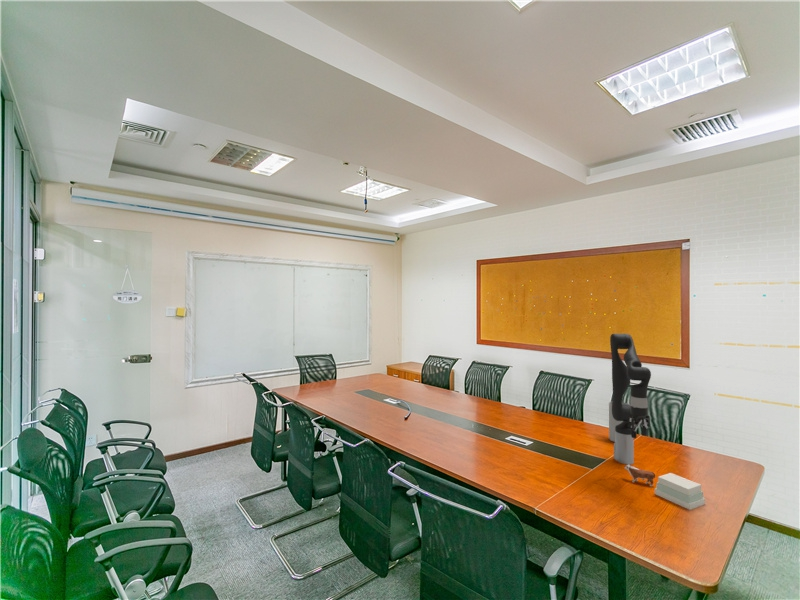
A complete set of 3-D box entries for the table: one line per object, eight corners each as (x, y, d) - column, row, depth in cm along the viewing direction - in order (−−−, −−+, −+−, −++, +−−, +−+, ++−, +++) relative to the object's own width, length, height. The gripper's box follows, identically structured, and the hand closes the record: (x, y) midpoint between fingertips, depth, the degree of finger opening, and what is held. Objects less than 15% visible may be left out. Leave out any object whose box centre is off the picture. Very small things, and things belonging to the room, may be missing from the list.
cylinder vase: (632, 440, 245) (632, 403, 245) (628, 446, 236) (628, 407, 236) (611, 436, 253) (611, 400, 254) (607, 441, 244) (606, 404, 244)
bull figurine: (624, 477, 193) (624, 462, 193) (655, 485, 185) (655, 469, 185) (623, 480, 190) (623, 465, 190) (654, 488, 181) (654, 472, 181)
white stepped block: (654, 494, 176) (654, 476, 176) (669, 489, 181) (669, 471, 181) (690, 510, 162) (689, 490, 162) (705, 504, 167) (704, 485, 167)
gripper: (640, 402, 194) (640, 432, 194) (622, 405, 188) (623, 436, 188) (654, 405, 187) (655, 437, 187) (637, 408, 181) (637, 441, 181)
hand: (639, 436), depth 188 cm, fingers open, 8 cm apart
